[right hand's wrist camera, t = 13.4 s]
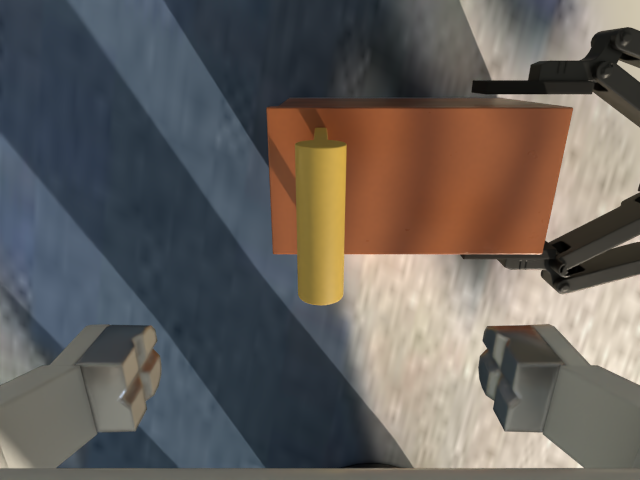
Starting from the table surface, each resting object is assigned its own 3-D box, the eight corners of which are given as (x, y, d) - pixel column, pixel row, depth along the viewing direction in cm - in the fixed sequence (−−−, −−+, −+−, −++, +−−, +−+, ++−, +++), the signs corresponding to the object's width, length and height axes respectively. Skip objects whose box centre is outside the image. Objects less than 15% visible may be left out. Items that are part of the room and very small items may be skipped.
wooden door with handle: (274, 247, 28) (254, 323, 20) (268, 106, 25) (240, 122, 16) (534, 247, 28) (627, 323, 20) (562, 106, 25) (690, 122, 16)
